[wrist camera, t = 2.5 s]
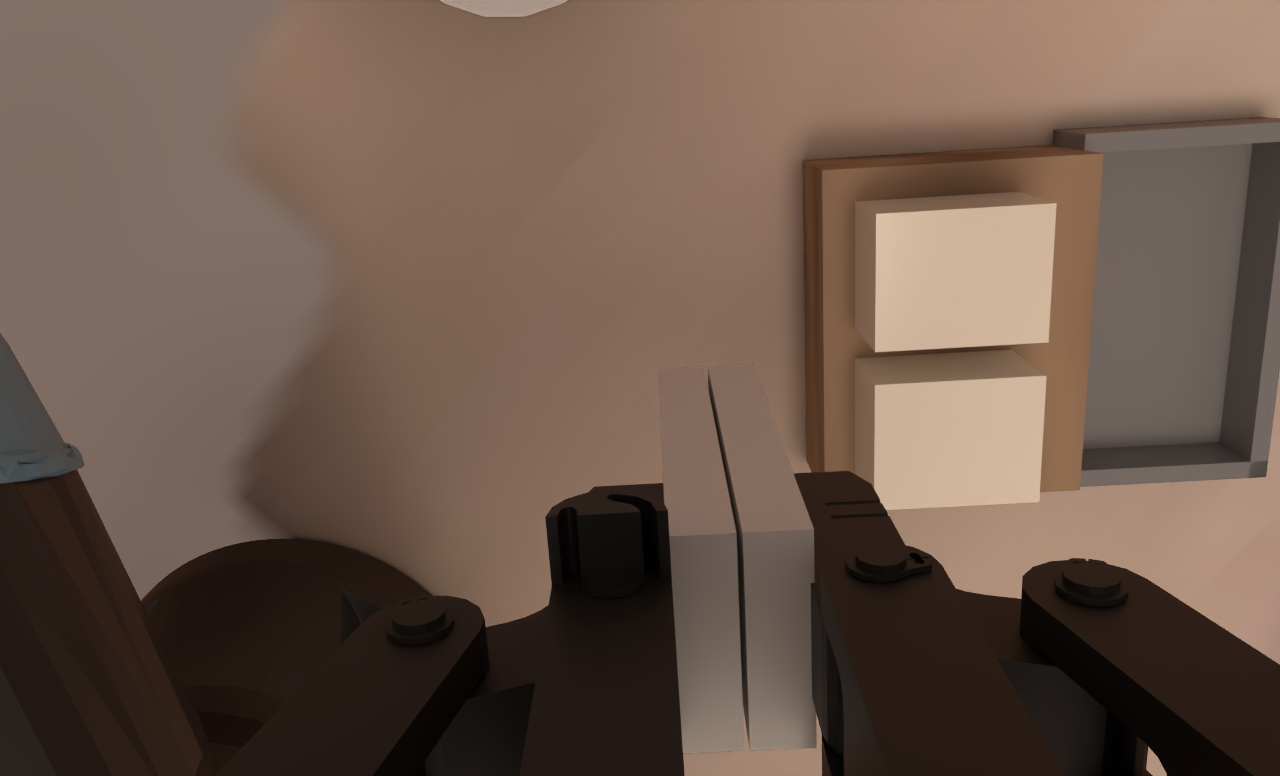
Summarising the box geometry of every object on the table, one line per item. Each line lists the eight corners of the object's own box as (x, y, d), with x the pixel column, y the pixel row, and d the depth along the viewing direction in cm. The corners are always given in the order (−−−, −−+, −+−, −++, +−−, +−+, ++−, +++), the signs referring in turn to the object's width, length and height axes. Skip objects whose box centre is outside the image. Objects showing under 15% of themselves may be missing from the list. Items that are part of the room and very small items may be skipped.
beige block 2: (854, 474, 34) (874, 510, 31) (854, 358, 33) (874, 385, 30) (1005, 466, 34) (1039, 501, 31) (1011, 349, 33) (1046, 375, 30)
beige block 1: (855, 328, 32) (875, 352, 30) (855, 201, 31) (876, 213, 28) (1012, 319, 32) (1048, 342, 30) (1018, 191, 31) (1056, 203, 28)
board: (806, 460, 38) (824, 503, 34) (802, 160, 35) (822, 170, 31) (1035, 448, 38) (1079, 490, 34) (1053, 145, 35) (1103, 153, 31)
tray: (1035, 461, 38) (1062, 487, 36) (1053, 130, 35) (1085, 133, 32) (1225, 450, 38) (1266, 477, 35) (1263, 117, 34) (1311, 120, 32)
